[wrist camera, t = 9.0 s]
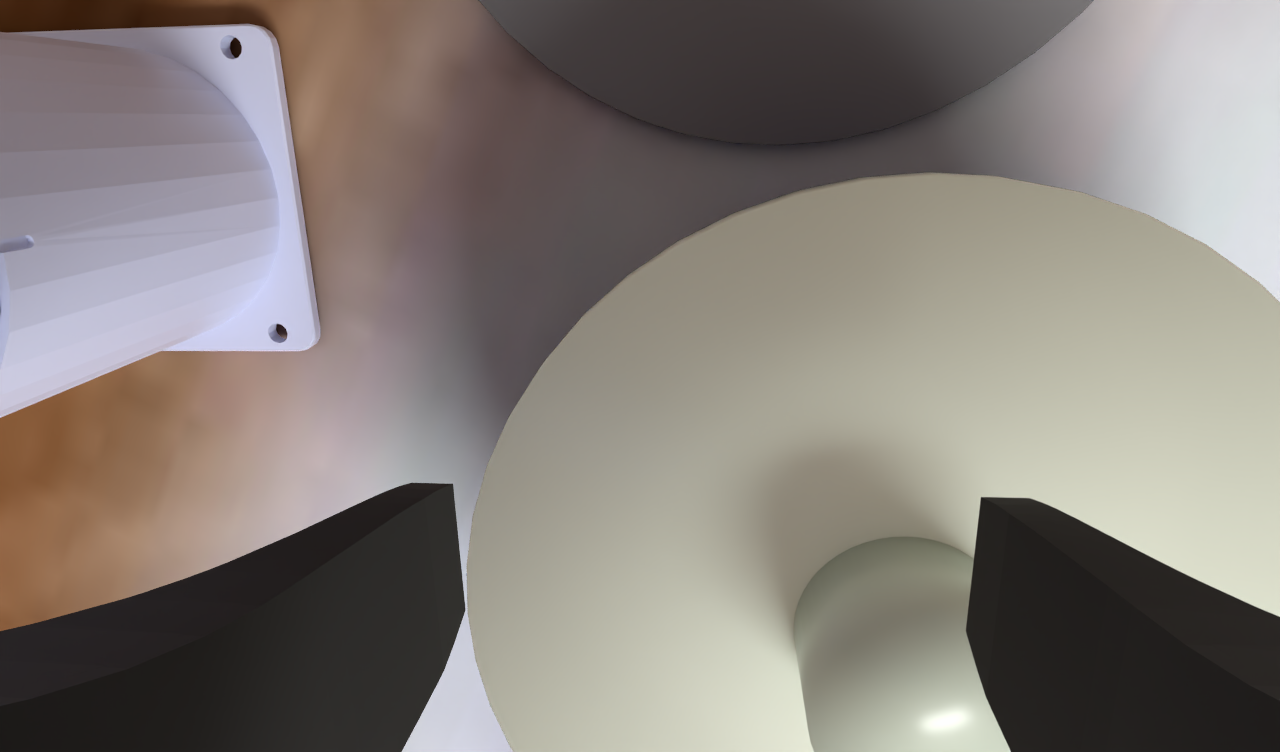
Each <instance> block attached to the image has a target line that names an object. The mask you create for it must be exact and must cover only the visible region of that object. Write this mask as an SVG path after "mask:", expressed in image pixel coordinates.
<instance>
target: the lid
mask: <svg viewBox="0 0 1280 752" xmlns="http://www.w3.org/2000/svg"><path fill="white" fill-rule="evenodd" d="M981 497H1004V498H1031V499H1034V500H1036V501H1039V502H1042V503H1044V504H1047V505H1049V506H1051V507H1054V508H1056V509H1058V510H1060V511H1062V512H1064V513H1066V514H1068V515H1070V516H1072V517H1074V518H1076V519H1078V520H1080V521H1082V522H1084V523H1086V524H1088V525H1090V526H1092V527H1094V528H1096V529H1098V530H1100V531H1102V532H1103V533H1105V534H1107V535H1109V536H1111V537H1113V538H1115V539H1117V540H1119V541H1121V542H1123V543H1125V544H1127V545H1129V546H1130V547H1132V548H1134V549H1136V550H1138V551H1140V552H1142V553H1144V554H1146V555H1148V556H1150V557H1152V558H1154V559H1156V560H1158V561H1160V562H1162V563H1164V564H1166V565H1168V566H1170V567H1172V568H1174V569H1176V570H1178V571H1180V572H1182V573H1184V574H1186V575H1188V576H1190V577H1192V578H1194V579H1196V580H1198V581H1201V582H1203V583H1205V584H1207V585H1209V586H1212V587H1214V588H1216V589H1218V590H1220V591H1222V592H1225V593H1227V594H1229V595H1231V596H1233V597H1236V598H1238V599H1240V600H1242V601H1244V602H1246V603H1249V604H1251V605H1253V606H1255V607H1258V608H1260V609H1262V610H1265V611H1267V612H1269V613H1272V614H1274V615H1277V616H1279V617H1280V302H1279V301H1278V300H1277V299H1276V298H1275V297H1274V296H1273V295H1272V294H1271V293H1270V292H1269V291H1268V290H1267V289H1266V288H1265V287H1263V286H1262V285H1261V284H1260V283H1259V282H1258V281H1257V280H1255V279H1254V278H1252V277H1251V276H1249V275H1248V274H1247V273H1245V272H1244V271H1242V270H1241V269H1240V268H1238V267H1237V266H1235V265H1234V264H1233V263H1231V262H1230V261H1228V260H1227V259H1226V258H1224V257H1223V256H1221V255H1220V254H1219V253H1217V252H1216V251H1214V250H1213V249H1212V248H1210V247H1209V246H1207V245H1206V244H1204V243H1202V242H1200V241H1198V240H1196V239H1194V238H1192V237H1190V236H1188V235H1186V234H1184V233H1182V232H1180V231H1178V230H1176V229H1174V228H1172V227H1170V226H1168V225H1166V224H1165V223H1163V222H1161V221H1159V220H1157V219H1155V218H1153V217H1151V216H1149V215H1147V214H1144V213H1141V212H1138V211H1135V210H1132V209H1129V208H1126V207H1123V206H1120V205H1117V204H1114V203H1111V202H1108V201H1105V200H1103V199H1100V198H1097V197H1094V196H1091V195H1088V194H1085V193H1082V192H1077V191H1072V190H1067V189H1062V188H1057V187H1051V186H1046V185H1041V184H1036V183H1030V182H1025V181H1020V180H1014V179H1009V178H1004V177H998V176H989V175H970V174H951V173H932V172H925V173H912V174H899V175H886V176H874V177H861V178H856V179H851V180H847V181H842V182H837V183H832V184H828V185H823V186H818V187H813V188H809V189H804V190H799V191H795V192H792V193H789V194H786V195H784V196H781V197H778V198H775V199H772V200H769V201H766V202H764V203H761V204H758V205H755V206H752V207H749V208H746V209H744V210H741V211H738V212H735V213H733V214H731V215H729V216H727V217H725V218H723V219H721V220H719V221H717V222H715V223H713V224H711V225H709V226H707V227H705V228H703V229H701V230H699V231H697V232H695V233H693V234H691V235H689V236H687V237H685V238H683V239H681V240H679V241H677V242H676V243H674V244H673V245H671V246H670V247H669V248H667V249H666V250H664V251H663V252H661V253H660V254H658V255H657V256H655V257H654V258H652V259H651V260H649V261H648V262H646V263H645V264H644V265H642V266H641V267H639V268H638V269H636V270H635V271H633V272H632V273H630V274H629V275H627V276H626V277H625V278H624V279H623V280H622V281H621V282H620V283H618V284H617V285H616V286H615V287H614V288H613V289H612V290H611V291H610V292H608V293H607V294H606V295H605V296H604V297H603V298H602V299H601V300H599V301H598V302H597V303H596V304H595V305H594V306H593V307H592V308H591V309H589V310H588V311H587V312H586V313H585V314H584V315H583V316H582V317H581V318H580V320H579V321H578V322H577V323H576V324H575V326H574V327H573V328H572V329H571V330H570V331H569V333H568V334H567V335H566V336H565V337H564V338H563V340H562V341H561V342H560V343H559V344H558V346H557V347H556V348H555V349H554V350H553V351H552V353H551V354H550V355H549V356H548V357H547V359H546V360H545V362H544V363H543V364H542V366H541V367H540V369H539V370H538V372H537V373H536V375H535V376H534V378H533V380H532V381H531V383H530V384H529V386H528V387H527V389H526V391H525V392H524V394H523V395H522V397H521V398H520V400H519V402H518V403H517V405H516V406H515V408H514V410H513V411H512V413H511V414H510V416H509V418H508V420H507V422H506V424H505V427H504V429H503V431H502V433H501V436H500V438H499V440H498V442H497V444H496V447H495V449H494V451H493V453H492V456H491V458H490V460H489V462H488V465H487V467H486V471H485V474H484V478H483V482H482V485H481V489H480V492H479V496H478V499H477V503H476V507H475V510H474V514H473V519H472V527H471V535H470V543H469V551H468V559H467V603H468V618H469V624H470V630H471V636H472V642H473V648H474V653H475V659H476V663H477V666H478V669H479V672H480V675H481V678H482V682H483V685H484V688H485V691H486V694H487V697H488V700H489V703H490V706H491V708H492V710H493V712H494V714H495V716H496V718H497V720H498V722H499V725H500V727H501V729H502V731H503V733H504V735H505V737H506V739H507V741H508V743H509V745H510V747H511V749H512V750H513V752H1011V751H1010V749H1009V746H1008V744H1007V742H1006V740H1005V738H1004V736H1003V733H1002V731H1001V729H1000V727H999V725H998V723H997V721H996V718H995V716H994V714H993V712H992V710H991V707H990V705H989V703H988V701H987V699H986V696H985V693H984V690H983V687H982V683H981V680H980V677H979V674H978V671H977V668H976V665H975V661H974V658H973V654H972V651H971V647H970V644H969V641H968V637H967V634H966V623H967V615H968V606H969V597H970V588H971V580H972V571H973V562H974V553H975V545H976V536H977V527H978V518H979V509H980V501H981Z"/></svg>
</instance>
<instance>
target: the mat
mask: <svg viewBox="0 0 1280 752" xmlns="http://www.w3.org/2000/svg"><path fill="white" fill-rule="evenodd" d="M479 1H480V2H481V3H482V5H483V6H484V7H485V8H486V9H487V10H488V11H489V12H490V14H491V15H492V16H493V17H494V18H495V19H496V20H497V21H498V23H499V24H500V25H501V26H502V27H503V28H504V29H505V31H506V32H507V33H508V34H510V35H511V36H512V37H513V38H514V39H515V40H516V41H518V42H519V43H520V44H521V45H522V46H523V47H524V48H526V49H527V50H528V51H529V52H530V53H531V54H532V55H534V56H535V57H536V58H537V59H538V60H539V61H540V62H542V63H543V64H544V65H545V66H546V67H547V68H549V69H550V70H552V71H553V72H555V73H556V74H558V75H559V76H561V77H562V78H564V79H565V80H567V81H568V82H570V83H571V84H573V85H574V86H576V87H577V88H579V89H580V90H582V91H583V92H585V93H586V94H588V95H589V96H591V97H593V98H595V99H597V100H599V101H601V102H603V103H606V104H608V105H610V106H612V107H614V108H616V109H618V110H620V111H622V112H624V113H626V114H628V115H630V116H632V117H634V118H637V119H640V120H643V121H646V122H649V123H652V124H655V125H658V126H661V127H664V128H667V129H670V130H673V131H676V132H679V133H682V134H687V135H693V136H698V137H704V138H709V139H714V140H720V141H725V142H731V143H750V144H772V145H787V144H799V143H810V142H821V141H833V140H837V139H842V138H846V137H851V136H855V135H860V134H864V133H869V132H873V131H878V130H882V129H886V128H889V127H891V126H894V125H897V124H900V123H903V122H905V121H908V120H911V119H914V118H916V117H919V116H922V115H925V114H927V113H930V112H933V111H936V110H938V109H940V108H942V107H944V106H946V105H948V104H950V103H952V102H954V101H955V100H957V99H959V98H961V97H963V96H965V95H967V94H969V93H971V92H973V91H975V90H977V89H979V88H981V87H983V86H985V85H987V84H988V83H990V82H991V81H993V80H994V79H996V78H997V77H999V76H1000V75H1002V74H1003V73H1005V72H1006V71H1008V70H1009V69H1011V68H1012V67H1014V66H1015V65H1017V64H1018V63H1020V62H1021V61H1023V60H1024V59H1026V58H1027V57H1029V56H1030V55H1032V54H1033V53H1035V52H1036V51H1037V50H1038V49H1040V48H1041V47H1042V46H1043V45H1044V44H1046V43H1047V42H1048V41H1049V40H1050V39H1051V38H1053V37H1054V36H1055V35H1056V34H1057V33H1059V32H1060V31H1061V30H1062V29H1063V28H1064V27H1066V26H1067V25H1068V24H1069V23H1070V22H1072V21H1073V20H1074V19H1075V18H1076V17H1077V16H1079V15H1080V14H1081V13H1082V12H1083V11H1084V10H1085V9H1086V8H1087V7H1088V6H1089V5H1090V4H1091V3H1092V2H1093V0H479Z"/></svg>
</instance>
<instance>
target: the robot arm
mask: <svg viewBox="0 0 1280 752" xmlns="http://www.w3.org/2000/svg"><path fill="white" fill-rule="evenodd" d="M233 38H237V39H238V40H239V41H240V43H241V46H242V52H241V54H240V56H239V57H238V58H235V57H234V56H233V55H232V53H231V50H230V43H231V41H232V40H233ZM277 324H281V325H282V326H283V327H285V328H286V331H287V333H288V335H287V339H284V338H282V337H280V336H279V335H278V333H277V331H276V325H277ZM319 338H320V323H319V316H318V310H317V303H316V296H315V289H314V282H313V276H312V269H311V262H310V255H309V248H308V242H307V235H306V228H305V221H304V214H303V208H302V201H301V194H300V187H299V180H298V173H297V167H296V160H295V153H294V146H293V139H292V133H291V126H290V119H289V112H288V105H287V99H286V92H285V85H284V78H283V71H282V65H281V58H280V51H279V46H278V43H277V40H276V38H275V36H274V35H273V34H272V32H271V31H269V30H268V29H266V28H265V27H262V26H258V25H252V24H231V25H203V26H176V27H149V28H121V29H94V30H67V31H39V32H12V33H5V32H0V418H1V417H3V416H5V415H8V414H10V413H13V412H15V411H17V410H20V409H22V408H25V407H27V406H29V405H32V404H34V403H37V402H39V401H41V400H44V399H46V398H49V397H51V396H53V395H56V394H58V393H61V392H63V391H65V390H68V389H70V388H73V387H75V386H77V385H80V384H82V383H85V382H87V381H89V380H92V379H94V378H97V377H99V376H101V375H104V374H106V373H109V372H111V371H113V370H116V369H118V368H121V367H123V366H125V365H128V364H130V363H133V362H135V361H137V360H140V359H142V358H145V357H147V356H149V355H152V354H154V353H157V352H159V351H303V350H307V349H309V348H310V347H312V346H314V345H315V344H316V343H317V342H318V340H319ZM464 613H465V601H464V591H463V581H462V571H461V561H460V551H459V541H458V531H457V521H456V511H455V501H454V491H453V484H435V483H409V484H406V485H402V486H399V487H396V488H394V489H391V490H389V491H386V492H384V493H381V494H379V495H377V496H374V497H372V498H370V499H368V500H366V501H363V502H361V503H359V504H357V505H355V506H353V507H350V508H348V509H346V510H344V511H342V512H340V513H338V514H336V515H333V516H331V517H329V518H327V519H325V520H323V521H321V522H319V523H316V524H314V525H312V526H310V527H308V528H306V529H304V530H302V531H299V532H297V533H295V534H293V535H290V536H288V537H286V538H283V539H281V540H279V541H276V542H274V543H272V544H270V545H267V546H265V547H263V548H260V549H258V550H256V551H253V552H251V553H249V554H246V555H244V556H242V557H239V558H237V559H235V560H232V561H230V562H228V563H225V564H223V565H220V566H218V567H215V568H213V569H210V570H207V571H205V572H202V573H199V574H197V575H194V576H191V577H188V578H186V579H183V580H180V581H177V582H174V583H171V584H168V585H165V586H162V587H159V588H156V589H153V590H150V591H148V592H145V593H141V594H138V595H135V596H132V597H129V598H126V599H122V600H118V601H115V602H111V603H107V604H104V605H100V606H97V607H93V608H89V609H86V610H82V611H78V612H75V613H71V614H68V615H64V616H60V617H57V618H53V619H49V620H46V621H42V622H38V623H34V624H30V625H26V626H22V627H17V628H13V629H9V630H4V631H0V752H402V750H403V748H404V746H405V744H406V742H407V740H408V738H409V737H410V735H411V733H412V731H413V729H414V727H415V725H416V724H417V722H418V720H419V718H420V716H421V714H422V712H423V710H424V708H425V706H426V704H427V703H428V701H429V699H430V697H431V695H432V693H433V691H434V689H435V687H436V685H437V683H438V681H439V679H440V677H441V675H442V673H443V671H444V669H445V666H446V664H447V661H448V658H449V656H450V653H451V650H452V648H453V645H454V642H455V639H456V636H457V633H458V630H459V627H460V624H461V621H462V618H463V616H464ZM966 634H967V637H968V641H969V644H970V647H971V651H972V654H973V658H974V661H975V665H976V668H977V671H978V674H979V677H980V680H981V683H982V687H983V690H984V693H985V696H986V699H987V701H988V703H989V705H990V707H991V710H992V712H993V714H994V716H995V718H996V721H997V723H998V725H999V727H1000V729H1001V731H1002V733H1003V736H1004V738H1005V740H1006V742H1007V744H1008V746H1009V749H1010V751H1011V752H1280V617H1279V616H1277V615H1274V614H1272V613H1269V612H1267V611H1265V610H1262V609H1260V608H1258V607H1255V606H1253V605H1251V604H1249V603H1246V602H1244V601H1242V600H1240V599H1238V598H1236V597H1233V596H1231V595H1229V594H1227V593H1225V592H1222V591H1220V590H1218V589H1216V588H1214V587H1212V586H1209V585H1207V584H1205V583H1203V582H1201V581H1198V580H1196V579H1194V578H1192V577H1190V576H1188V575H1186V574H1184V573H1182V572H1180V571H1178V570H1176V569H1174V568H1172V567H1170V566H1168V565H1166V564H1164V563H1162V562H1160V561H1158V560H1156V559H1154V558H1152V557H1150V556H1148V555H1146V554H1144V553H1142V552H1140V551H1138V550H1136V549H1134V548H1132V547H1130V546H1129V545H1127V544H1125V543H1123V542H1121V541H1119V540H1117V539H1115V538H1113V537H1111V536H1109V535H1107V534H1105V533H1103V532H1102V531H1100V530H1098V529H1096V528H1094V527H1092V526H1090V525H1088V524H1086V523H1084V522H1082V521H1080V520H1078V519H1076V518H1074V517H1072V516H1070V515H1068V514H1066V513H1064V512H1062V511H1060V510H1058V509H1056V508H1054V507H1051V506H1049V505H1047V504H1044V503H1042V502H1039V501H1036V500H1034V499H1031V498H1004V497H981V501H980V509H979V518H978V527H977V536H976V545H975V553H974V562H973V571H972V580H971V588H970V597H969V606H968V615H967V623H966Z"/></svg>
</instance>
